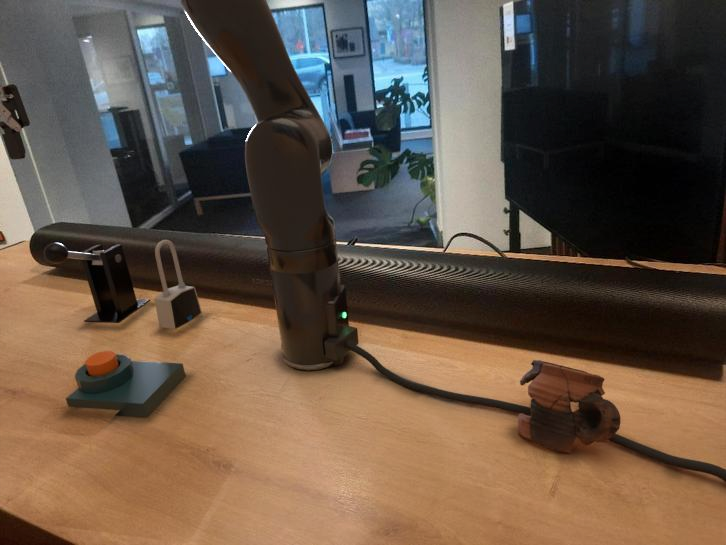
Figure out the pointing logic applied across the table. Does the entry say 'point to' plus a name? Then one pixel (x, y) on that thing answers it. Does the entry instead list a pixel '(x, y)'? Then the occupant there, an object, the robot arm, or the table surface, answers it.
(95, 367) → the button
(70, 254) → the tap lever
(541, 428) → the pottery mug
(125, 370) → the control block
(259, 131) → the robot arm
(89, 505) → the table surface
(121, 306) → the black lever base
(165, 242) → the padlock
